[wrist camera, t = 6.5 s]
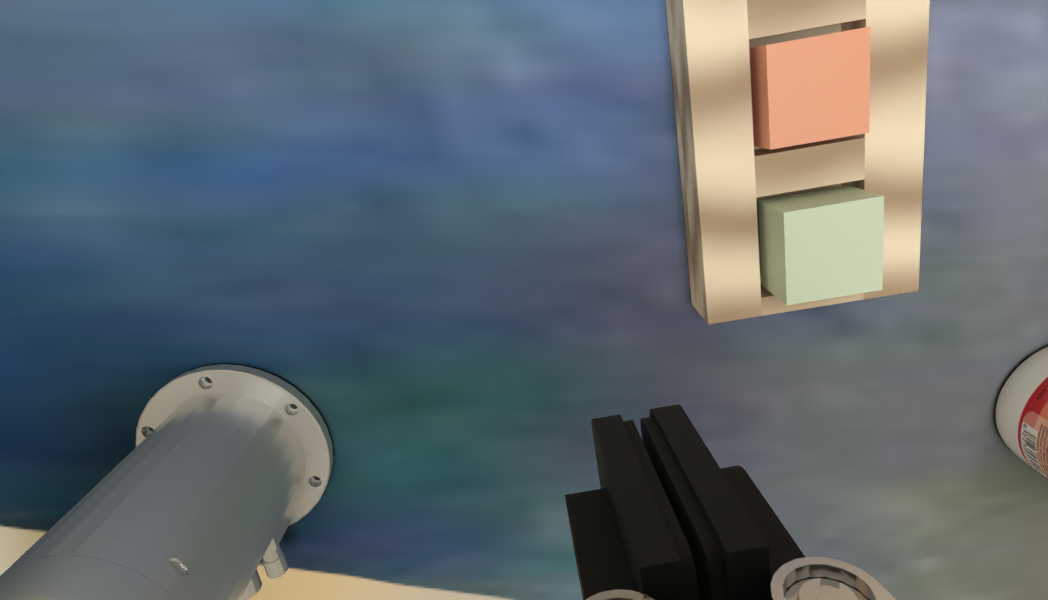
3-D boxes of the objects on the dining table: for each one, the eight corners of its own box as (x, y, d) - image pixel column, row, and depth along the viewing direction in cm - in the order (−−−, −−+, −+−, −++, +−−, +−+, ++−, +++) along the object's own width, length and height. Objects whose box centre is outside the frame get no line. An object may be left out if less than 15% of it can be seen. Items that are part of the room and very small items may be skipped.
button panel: (883, 273, 39) (918, 290, 36) (691, 304, 39) (708, 324, 36) (892, -182, 31) (937, -214, 28) (653, -136, 32) (670, -162, 28)
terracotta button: (835, 128, 35) (869, 132, 31) (746, 143, 35) (770, 149, 32) (835, 32, 33) (870, 26, 30) (741, 49, 33) (766, 44, 30)
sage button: (848, 271, 36) (882, 290, 33) (761, 285, 36) (786, 305, 33) (848, 185, 34) (884, 196, 31) (757, 200, 35) (783, 212, 31)
